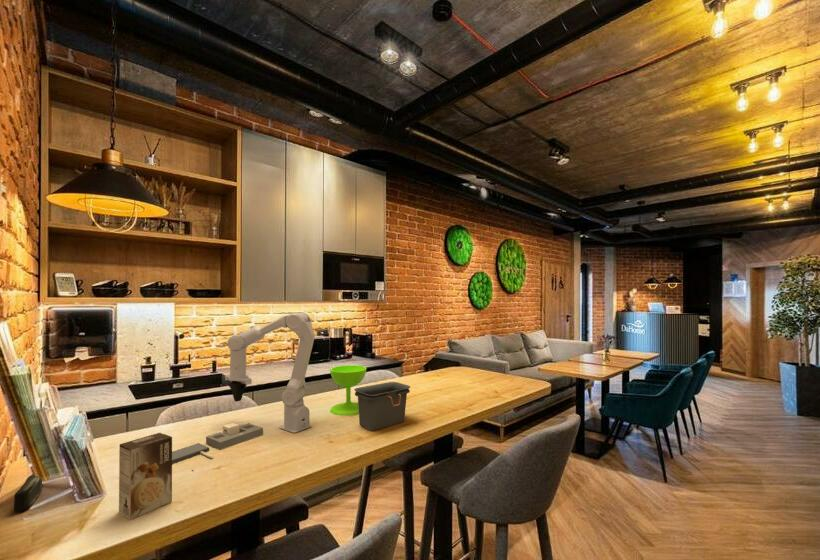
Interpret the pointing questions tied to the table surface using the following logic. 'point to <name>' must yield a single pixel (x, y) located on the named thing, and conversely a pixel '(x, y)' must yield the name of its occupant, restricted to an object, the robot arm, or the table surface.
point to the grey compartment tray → (234, 436)
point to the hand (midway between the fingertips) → (237, 400)
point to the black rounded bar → (27, 493)
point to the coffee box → (145, 474)
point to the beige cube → (231, 429)
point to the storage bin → (381, 404)
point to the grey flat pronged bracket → (190, 452)
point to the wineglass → (347, 387)
